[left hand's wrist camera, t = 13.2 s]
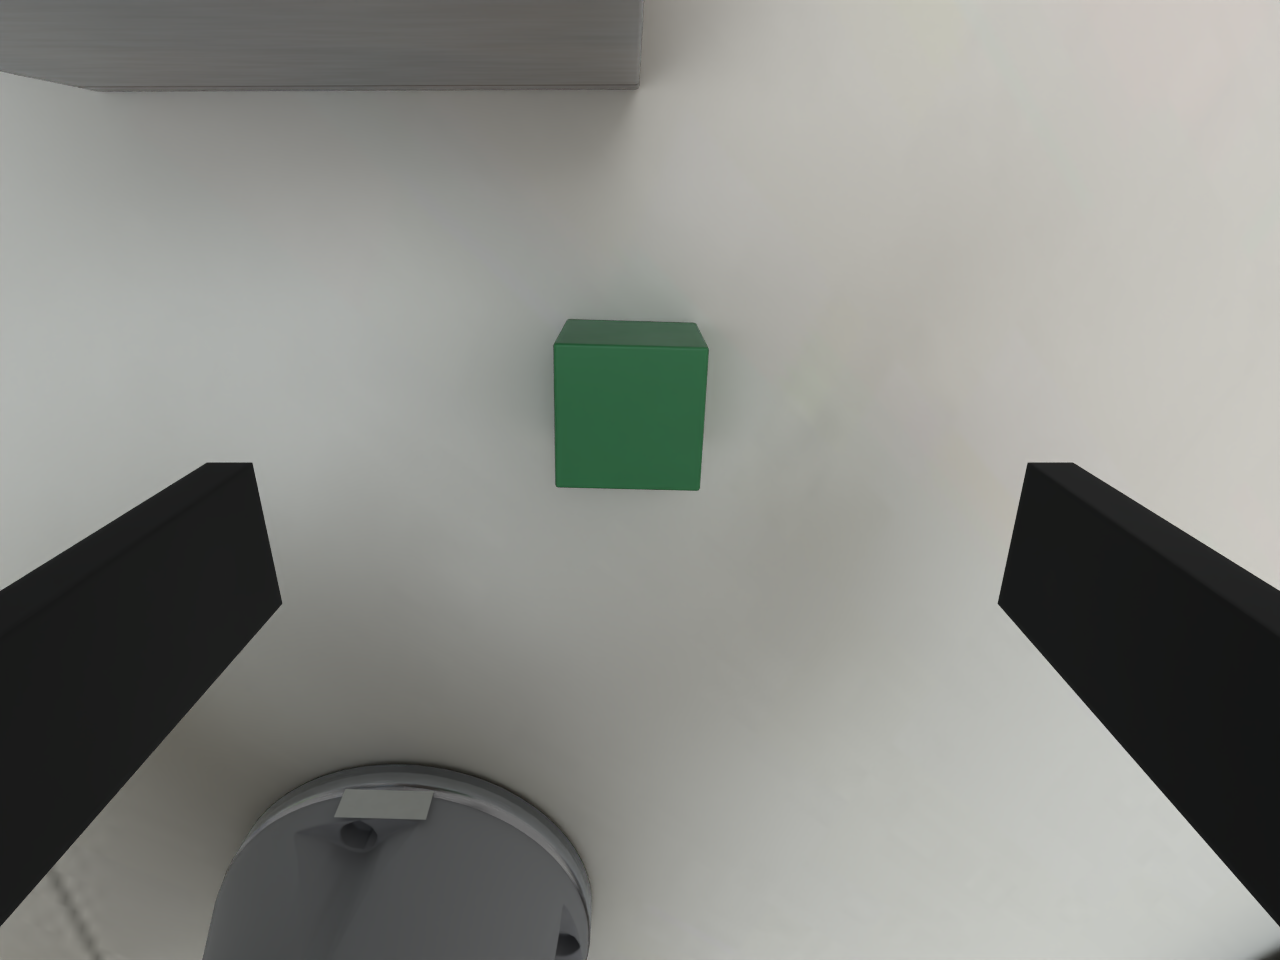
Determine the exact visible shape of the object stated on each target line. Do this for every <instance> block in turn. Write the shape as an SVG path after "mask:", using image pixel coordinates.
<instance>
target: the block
mask: <svg viewBox="0 0 1280 960" xmlns="http://www.w3.org/2000/svg"><path fill="white" fill-rule="evenodd" d="M553 348H554V418H555V485H556V487H568V488H609V489H650V490H691V491H697V490H699V489H700V478H701V463H702V447H703V432H704V416H705V401H706V385H707V370H708V354H709V349H708V347H707V345H706V343H705V341H704V339H703V337H702V335H701V333H700V331H699V329H698V327H697V325H696V324H695V323H679V322H644V321H609V320H575V319H569V320H567V321H566V323H565V325H564V327H563V329H562V331H561V332H560V334H559V336H558V338H557V340H556V341H555V343H554V346H553Z"/></svg>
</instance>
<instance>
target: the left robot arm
mask: <svg viewBox="0 0 1280 960" xmlns="http://www.w3.org/2000/svg"><path fill="white" fill-rule="evenodd" d="M281 605H282V600H281V595H280V591H279V586H278V581H277V577H276V572H275V567H274V562H273V558H272V553H271V548H270V544H269V539H268V534H267V530H266V525H265V520H264V515H263V511H262V506H261V501H260V497H259V492H258V487H257V483H256V478H255V473H254V468H253V464H252V463H206V464H204V465H202V466H201V467H199V468H198V469H196V470H194V471H193V472H191V473H190V474H188V475H186V476H185V477H183V478H182V479H180V480H178V481H177V482H175V483H173V484H172V485H170V486H169V487H167V488H165V489H164V490H162V491H161V492H159V493H157V494H156V495H154V496H153V497H151V498H149V499H148V500H146V501H144V502H143V503H141V504H140V505H138V506H136V507H135V508H133V509H132V510H130V511H128V512H127V513H125V514H124V515H122V516H120V517H119V518H117V519H115V520H114V521H112V522H111V523H109V524H107V525H106V526H104V527H103V528H101V529H99V530H98V531H96V532H95V533H93V534H91V535H90V536H88V537H86V538H85V539H83V540H82V541H80V542H78V543H77V544H75V545H74V546H72V547H70V548H69V549H67V550H66V551H64V552H62V553H61V554H59V555H57V556H56V557H54V558H53V559H51V560H49V561H48V562H46V563H45V564H43V565H41V566H40V567H38V568H37V569H35V570H33V571H32V572H30V573H29V574H27V575H25V576H24V577H22V578H20V579H19V580H17V581H16V582H14V583H12V584H11V585H9V586H8V587H6V588H4V589H3V590H1V591H0V926H1V925H2V924H3V923H4V922H5V921H6V920H7V918H8V917H9V916H10V915H11V914H12V913H13V912H14V910H15V909H16V908H17V907H18V906H19V905H20V903H21V902H22V901H23V900H24V899H25V898H26V897H27V895H28V894H29V893H30V892H31V891H32V890H33V889H34V887H35V886H36V885H37V884H38V883H39V882H40V881H41V879H42V878H43V877H44V876H45V875H46V874H47V873H48V871H49V870H50V869H51V868H52V867H53V866H54V865H55V863H56V862H57V861H58V860H59V859H60V858H61V857H62V855H63V854H64V853H65V852H66V851H67V850H68V849H69V847H70V846H71V845H72V844H73V843H74V842H75V840H76V839H77V838H78V837H79V836H80V835H81V834H82V832H83V831H84V830H85V829H86V828H87V827H88V826H89V824H90V823H91V822H92V821H93V820H94V819H95V818H96V816H97V815H98V814H99V813H100V812H101V811H102V810H103V808H104V807H105V806H106V805H107V804H108V803H109V802H110V800H111V799H112V798H113V797H114V796H115V795H116V794H117V792H118V791H119V790H120V789H121V788H122V787H123V786H124V784H125V783H126V782H127V781H128V780H129V779H130V777H131V776H132V775H133V774H134V773H135V772H136V771H137V769H138V768H139V767H140V766H141V765H142V764H143V763H144V761H145V760H146V759H147V758H148V757H149V756H150V755H151V753H152V752H153V751H154V750H155V749H156V748H157V747H158V745H159V744H160V743H161V742H162V741H163V740H164V739H165V737H166V736H167V735H168V734H169V733H170V732H171V731H172V729H173V728H174V727H175V726H176V725H177V724H178V722H179V721H180V720H181V719H182V718H183V717H184V716H185V714H186V713H187V712H188V711H189V710H190V709H191V708H192V706H193V705H194V704H195V703H196V702H197V701H198V700H199V698H200V697H201V696H202V695H203V694H204V693H205V692H206V690H207V689H208V688H209V687H210V686H211V685H212V684H213V682H214V681H215V680H216V679H217V678H218V677H219V676H220V674H221V673H222V672H223V671H224V670H225V669H226V668H227V666H228V665H229V664H230V663H231V662H232V661H233V659H234V658H235V657H236V656H237V655H238V654H239V653H240V651H241V650H242V649H243V648H244V647H245V646H246V645H247V643H248V642H249V641H250V640H251V639H252V638H253V637H254V635H255V634H256V633H257V632H258V631H259V630H260V629H261V627H262V626H263V625H264V624H265V623H266V622H267V621H268V619H269V618H270V617H271V616H272V615H273V614H274V613H275V611H276V610H277V609H278V608H279V607H280V606H281ZM998 605H999V606H1000V607H1001V608H1002V609H1003V610H1004V611H1005V613H1006V614H1007V615H1008V616H1009V617H1010V618H1011V619H1012V621H1013V622H1014V623H1015V624H1016V625H1017V626H1018V627H1019V629H1020V630H1021V631H1022V632H1023V633H1024V634H1025V635H1026V637H1027V638H1028V639H1029V640H1030V641H1031V642H1032V643H1033V645H1034V646H1035V647H1036V648H1037V649H1038V650H1039V651H1040V653H1041V654H1042V655H1043V656H1044V657H1045V658H1046V659H1047V661H1048V662H1049V663H1050V664H1051V665H1052V666H1053V668H1054V669H1055V670H1056V671H1057V672H1058V673H1059V674H1060V676H1061V677H1062V678H1063V679H1064V680H1065V681H1066V682H1067V684H1068V685H1069V686H1070V687H1071V688H1072V689H1073V690H1074V692H1075V693H1076V694H1077V695H1078V696H1079V697H1080V698H1081V700H1082V701H1083V702H1084V703H1085V704H1086V705H1087V706H1088V708H1089V709H1090V710H1091V711H1092V712H1093V713H1094V714H1095V716H1096V717H1097V718H1098V719H1099V720H1100V721H1101V722H1102V724H1103V725H1104V726H1105V727H1106V728H1107V729H1108V731H1109V732H1110V733H1111V734H1112V735H1113V736H1114V737H1115V739H1116V740H1117V741H1118V742H1119V743H1120V744H1121V745H1122V747H1123V748H1124V749H1125V750H1126V751H1127V752H1128V753H1129V755H1130V756H1131V757H1132V758H1133V759H1134V760H1135V761H1136V763H1137V764H1138V765H1139V766H1140V767H1141V768H1142V769H1143V771H1144V772H1145V773H1146V774H1147V775H1148V776H1149V777H1150V779H1151V780H1152V781H1153V782H1154V783H1155V784H1156V786H1157V787H1158V788H1159V789H1160V790H1161V791H1162V792H1163V794H1164V795H1165V796H1166V797H1167V798H1168V799H1169V800H1170V802H1171V803H1172V804H1173V805H1174V806H1175V807H1176V808H1177V810H1178V811H1179V812H1180V813H1181V814H1182V815H1183V816H1184V818H1185V819H1186V820H1187V821H1188V822H1189V823H1190V824H1191V826H1192V827H1193V828H1194V829H1195V830H1196V831H1197V832H1198V834H1199V835H1200V836H1201V837H1202V838H1203V839H1204V840H1205V842H1206V843H1207V844H1208V845H1209V846H1210V847H1211V849H1212V850H1213V851H1214V852H1215V853H1216V854H1217V855H1218V857H1219V858H1220V859H1221V860H1222V861H1223V862H1224V863H1225V865H1226V866H1227V867H1228V868H1229V869H1230V870H1231V871H1232V873H1233V874H1234V875H1235V876H1236V877H1237V878H1238V879H1239V881H1240V882H1241V883H1242V884H1243V885H1244V886H1245V887H1246V889H1247V890H1248V891H1249V892H1250V893H1251V894H1252V895H1253V897H1254V898H1255V899H1256V900H1257V901H1258V902H1259V903H1260V905H1261V906H1262V907H1263V908H1264V909H1265V910H1266V912H1267V913H1268V914H1269V915H1270V916H1271V917H1272V918H1273V920H1274V921H1275V922H1276V923H1277V924H1278V925H1279V926H1280V591H1279V590H1277V589H1276V588H1274V587H1272V586H1271V585H1269V584H1268V583H1266V582H1264V581H1263V580H1261V579H1260V578H1258V577H1256V576H1255V575H1253V574H1251V573H1250V572H1248V571H1247V570H1245V569H1243V568H1242V567H1240V566H1239V565H1237V564H1235V563H1234V562H1232V561H1231V560H1229V559H1227V558H1226V557H1224V556H1223V555H1221V554H1219V553H1218V552H1216V551H1214V550H1213V549H1211V548H1210V547H1208V546H1206V545H1205V544H1203V543H1202V542H1200V541H1198V540H1197V539H1195V538H1194V537H1192V536H1190V535H1189V534H1187V533H1185V532H1184V531H1182V530H1181V529H1179V528H1177V527H1176V526H1174V525H1173V524H1171V523H1169V522H1168V521H1166V520H1165V519H1163V518H1161V517H1160V516H1158V515H1156V514H1155V513H1153V512H1152V511H1150V510H1148V509H1147V508H1145V507H1144V506H1142V505H1140V504H1139V503H1137V502H1136V501H1134V500H1132V499H1131V498H1129V497H1127V496H1126V495H1124V494H1123V493H1121V492H1119V491H1118V490H1116V489H1115V488H1113V487H1111V486H1110V485H1108V484H1107V483H1105V482H1103V481H1102V480H1100V479H1098V478H1097V477H1095V476H1094V475H1092V474H1090V473H1089V472H1087V471H1086V470H1084V469H1082V468H1081V467H1079V466H1078V465H1076V464H1074V463H1028V464H1027V468H1026V473H1025V478H1024V483H1023V487H1022V492H1021V497H1020V501H1019V506H1018V511H1017V515H1016V520H1015V525H1014V530H1013V534H1012V539H1011V544H1010V548H1009V553H1008V558H1007V562H1006V567H1005V572H1004V577H1003V581H1002V586H1001V591H1000V595H999V600H998ZM591 914H592V896H591V888H590V884H589V880H588V876H587V873H586V870H585V868H584V865H583V863H582V861H581V859H580V857H579V855H578V853H577V851H576V850H575V848H574V847H573V845H572V844H571V843H570V841H569V840H568V838H567V837H566V836H565V835H564V834H563V833H562V831H561V830H560V829H559V828H558V827H557V826H556V825H555V824H554V823H553V822H552V821H551V820H550V819H549V818H548V817H547V816H545V815H544V814H543V813H542V812H540V811H539V810H538V809H536V808H535V807H534V806H533V805H531V804H529V803H528V802H526V801H525V800H523V799H522V798H520V797H519V796H517V795H515V794H513V793H511V792H509V791H507V790H506V789H504V788H501V787H499V786H497V785H495V784H492V783H490V782H488V781H485V780H482V779H479V778H476V777H473V776H471V775H467V774H463V773H460V772H456V771H452V770H447V769H442V768H436V767H430V766H420V765H405V764H387V765H372V766H364V767H356V768H352V769H347V770H342V771H338V772H335V773H332V774H328V775H325V776H322V777H319V778H317V779H315V780H312V781H310V782H307V783H305V784H303V785H302V786H300V787H298V788H296V789H294V790H292V791H291V792H289V793H288V794H286V795H285V796H283V797H282V798H280V799H279V800H278V801H277V802H275V803H274V804H273V805H272V806H271V807H269V808H268V809H267V810H266V811H265V813H264V814H263V815H262V816H261V817H260V818H259V819H258V820H257V822H256V823H255V825H254V826H253V827H252V829H251V830H250V832H249V833H248V835H247V837H246V838H245V840H244V842H243V843H242V845H241V847H240V848H239V850H238V852H237V853H236V855H235V857H234V858H233V860H232V862H231V864H230V866H229V868H228V870H227V871H226V874H225V877H224V880H223V883H222V885H221V888H220V890H219V893H218V896H217V899H216V902H215V906H214V911H213V915H212V920H211V924H210V929H209V933H208V938H207V942H206V946H205V951H204V955H203V960H586V959H587V956H588V951H589V945H590V931H591Z"/></svg>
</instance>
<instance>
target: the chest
mask: <svg viewBox="0 0 1280 960" xmlns="http://www.w3.org/2000/svg"><path fill="white" fill-rule="evenodd" d="M643 11H644V0H0V71H1V72H6V73H10V74H15V75H20V76H25V77H30V78H35V79H40V80H45V81H50V82H54V83H59V84H64V85H69V86H74V87H79V88H84V89H88V90H93V91H276V90H538V89H637V88H638V87H639V79H640V62H641V45H642V28H643Z"/></svg>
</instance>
